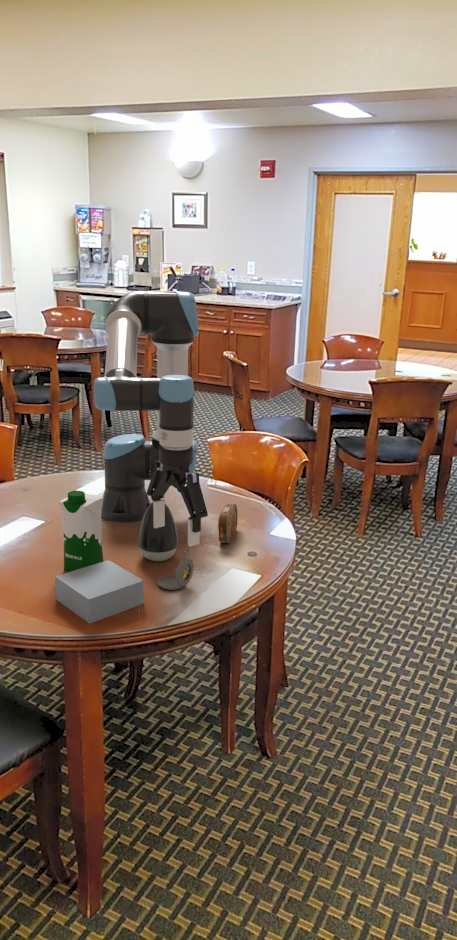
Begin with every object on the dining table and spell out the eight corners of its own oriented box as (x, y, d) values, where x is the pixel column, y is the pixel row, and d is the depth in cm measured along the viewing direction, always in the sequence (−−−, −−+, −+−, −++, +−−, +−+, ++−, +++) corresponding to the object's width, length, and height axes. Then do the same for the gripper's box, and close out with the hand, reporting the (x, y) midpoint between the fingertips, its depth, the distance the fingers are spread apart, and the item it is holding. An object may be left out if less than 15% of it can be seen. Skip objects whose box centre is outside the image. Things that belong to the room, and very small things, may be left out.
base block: (56, 600, 163) (55, 576, 161) (109, 583, 172) (108, 560, 170) (89, 624, 153) (88, 599, 151) (143, 605, 162) (143, 580, 160)
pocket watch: (157, 578, 174) (157, 540, 171) (192, 578, 175) (193, 540, 172) (157, 594, 166) (157, 554, 163) (194, 594, 167) (194, 554, 164)
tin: (227, 548, 193) (228, 518, 190) (216, 547, 193) (216, 517, 191) (238, 527, 207) (239, 500, 204) (227, 526, 207) (228, 499, 205)
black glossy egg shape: (147, 568, 179) (146, 511, 175) (132, 553, 188) (131, 498, 183) (184, 561, 184) (185, 505, 179) (168, 546, 193) (168, 492, 188)
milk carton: (58, 570, 177) (54, 493, 171) (80, 557, 185) (77, 482, 179) (88, 577, 174) (85, 499, 168) (109, 563, 182) (107, 488, 176)
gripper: (131, 436, 167) (132, 523, 173) (196, 461, 149) (195, 556, 155) (158, 432, 172) (158, 516, 178) (225, 455, 153) (222, 548, 159)
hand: (175, 535), depth 166 cm, fingers open, 13 cm apart
